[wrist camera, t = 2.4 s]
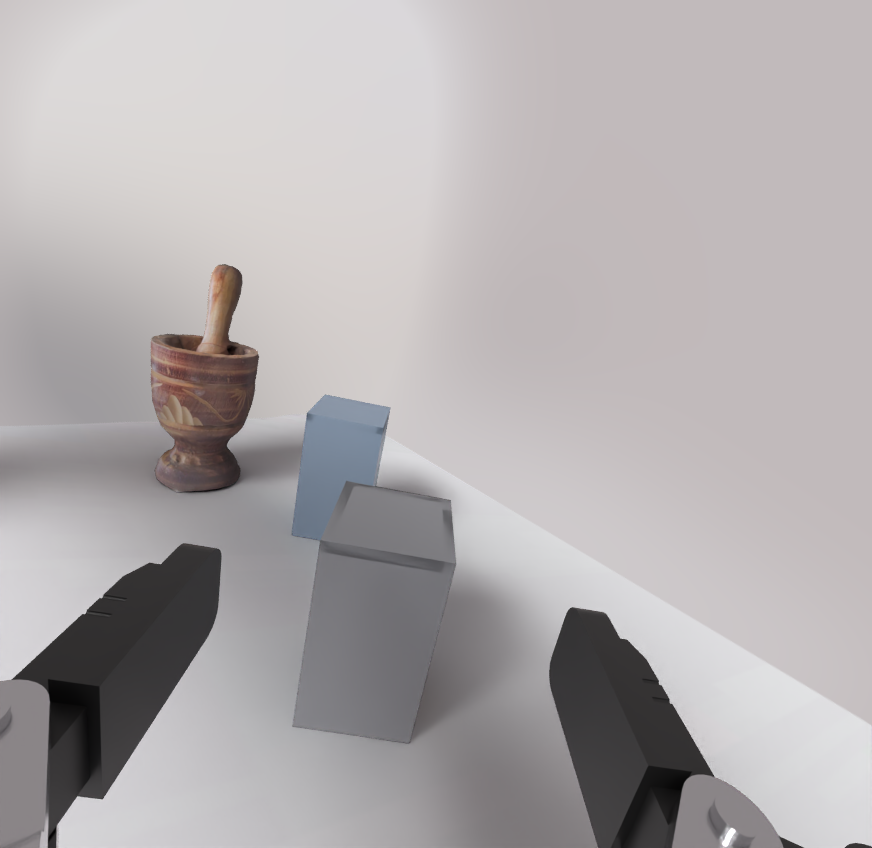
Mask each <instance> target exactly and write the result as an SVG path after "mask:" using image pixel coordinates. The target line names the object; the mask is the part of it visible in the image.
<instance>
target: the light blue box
mask: <svg viewBox="0 0 872 848" xmlns="http://www.w3.org/2000/svg"><path fill="white" fill-rule="evenodd" d="M389 413H390V407H385V406H380V405H375V404H370V403H365V402H360V401H355V400H350V399H345V398H340V397H335V396H330V395H324V396H323V397H322V398H321V399H320V400H319V401H318V402H317V403H316V405H314V407H313V408H312V409H311V410H310V411H309V412H308V413H307V418H306V426H305V434H304V442H303V449H302V457H301V465H300V473H299V481H298V489H297V497H296V505H295V512H294V520H293V528H292V535H294V536H299V537H305V538H311V539H316V540H321V538H322V535H323V533H324V531H325V528H326V526H327V524H328V522H329V519H330V517H331V515H332V512H333V510H334V508H335V506H336V503H337V501H338V499H339V496H340V494H341V492H342V489H343V487H344V485H345V483H346V481H350V482H355V483H360V484H366V485H371V486H376V483H377V478H378V472H379V467H380V461H381V456H382V451H383V445H384V440H385V434H386V429H387V423H388V418H389Z"/></svg>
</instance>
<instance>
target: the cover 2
mask: <svg viewBox="0 0 872 848" xmlns="http://www.w3.org/2000/svg"><path fill="white" fill-rule="evenodd" d="M455 566H456V558H455V546H454V534H453V523H452V511H451V500H447V499H441V498H436V497H430V496H425V495H420V494H414V493H409V492H403V491H398V490H393V489H387V488H382V487H377V486H371V485H366V484H360V483H355V482H350V481H346V483H345V485H344V487H343V489H342V492H341V494H340V496H339V499H338V501H337V503H336V506H335V508H334V510H333V512H332V515H331V517H330V519H329V522H328V524H327V526H326V528H325V531H324V533H323V535H322V538H321V540H320V547H319V553H318V560H317V567H316V573H315V580H314V587H313V593H312V600H311V607H310V613H309V620H308V627H307V633H306V640H305V647H304V654H303V660H302V667H301V674H300V680H299V687H298V694H297V700H296V707H295V714H294V720H293V727H300V728H307V729H314V730H321V731H328V732H335V733H342V734H348V735H355V736H362V737H369V738H376V739H383V740H390V741H397V742H404V743H410V739H411V735H412V731H413V727H414V723H415V720H416V716H417V712H418V708H419V704H420V700H421V697H422V693H423V689H424V685H425V681H426V677H427V673H428V670H429V666H430V662H431V658H432V654H433V650H434V646H435V643H436V639H437V635H438V631H439V627H440V623H441V619H442V616H443V612H444V608H445V604H446V600H447V596H448V593H449V589H450V585H451V581H452V577H453V573H454V569H455Z"/></svg>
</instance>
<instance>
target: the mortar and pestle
mask: <svg viewBox="0 0 872 848" xmlns="http://www.w3.org/2000/svg"><path fill="white" fill-rule="evenodd" d="M241 287H242V275H241V273H240V272H239V270H238V269H236V268H234V267H233V266H228V265H226V264H224V265H218V266H217V267H215V269H214V271H213V272H212V275H211V280H210V285H209V295H208V312H207V320H206V328H205V333H204V337H202V336H196V335H174V334H165V335H159V336H154V337H153V338H152V339H151V367H152V369H151V387H152V401H153V404H154V407H155V411H156V414H157V417H158V420H159V422H160V424H161V426H162V427H163V428H164V429H165V430H166V431H167V432H168V433H169V434H170V435H171V436H172V437H173V438H174V439H175V445H174V447H173V448H172V449H171V450H168V451H167V452H165V453H164V454H163V455H162V456H161V457H160V458H159V460H158V463H157V466H156V468H155V474H156V478H157V480H159V481H160V482H161V483H163V484H164V485H166V486H167V487H169V488H171V489H172V490H174V491H176V492H185V491H201V490H211V489H218V488H222V487H226V486H230V485H231V484H233V483H235V482H236V481H237V480H238V478H239V477H240V471H241V470H240V467H239V465H238V463H237V460H236V459H235V457H234V455H233V454H232V453H231V452H230V450H229V449H228V448H227V443H228V441H229V440H230V438H231V437H233V436H234V435H235V434H237V433H238V432H239V431H240V430H241V428H242V427H243V425H244V423H245V421H246V418H247V416H248V413H249V410H250V408H251V405H252V401H253V397H254V391H255V379H256V374H257V366H258V358H259V356H258V352H257V351H256V350H255V349H253V348H250V347H248V346H245V345H240V344H238V343H236V342H231V341H230V340H229V336H228V332H229V328H230V324H231V320H232V315H233V312H234V311H235V309H236V306H237V303H238V300H239V297H240V294H241Z"/></svg>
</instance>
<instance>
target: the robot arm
mask: <svg viewBox="0 0 872 848" xmlns="http://www.w3.org/2000/svg"><path fill="white" fill-rule="evenodd" d="M220 571H221V551H220V550H219V549H217V548H210V547H204V546H198V545H192V544H186V543H184V544H181V545H180V546H179V547H178V548H177V549H176V550H175V551H174V552H173V553H172V554H171V555H170V556H169V557H168V558H167V559H166V560H165V561H164V562H163V563H162V564H161V565H160V564H154V563H148V564H146V565H144V566H142V567H140V568H139V569H137V570H135V571H133V572H131V573H129V574H127V575H125V576H123V577H122V578H121V579H120V580H119V581H118V582H117V583H116V584H114V585H113V586H112V587H111V588H110V589H109V590H108V591H107V592H106V593H105V594H104V596H103V598H102V599H101V598H99V599H98V600H97V601H96V602H95V603H94V604H93V605H92V606H91V607H90V608H89V609H88V610H87V612H86V614H82V615H81V616H80V617H79V618H78V619H77V620H76V621H75V622H73V623H72V624H71V625H70V626H69V627H68V628H67V629H66V630H65V631H64V632H63V633H62V634H61V635H59V636H58V637H57V638H56V639H55V640H54V641H53V642H52V643H51V644H50V645H49V646H48V647H47V648H45V649H44V650H43V651H42V652H41V653H40V654H39V655H38V656H37V657H36V658H35V659H34V660H32V661H31V662H30V663H29V664H28V665H27V666H26V667H25V668H24V669H23V670H22V671H21V672H20V673H18V674H17V675H16V676H15V677H14V678H13V679H12V680H7V681H0V848H58V840H59V828H58V823H59V822H60V820H61V819H62V817H63V816H64V814H65V813H66V812H67V810H68V809H69V807H70V806H71V804H72V803H73V802H74V800H75V799H76V797H77V796H80V797H88V798H96V799H103V798H104V796H105V795H106V793H107V792H108V790H109V789H110V787H111V786H112V784H113V782H114V781H115V779H116V778H117V776H118V775H119V773H120V772H121V770H122V769H123V767H124V765H125V764H126V762H127V761H128V759H129V758H130V756H131V755H132V753H133V752H134V750H135V748H136V747H137V745H138V744H139V742H140V741H141V739H142V738H143V736H144V735H145V733H146V731H147V730H148V728H149V727H150V725H151V724H152V722H153V721H154V719H155V718H156V716H157V714H158V713H159V711H160V710H161V708H162V707H163V705H164V704H165V702H166V700H167V699H168V697H169V696H170V694H171V693H172V691H173V690H174V688H175V687H176V685H177V683H178V682H179V680H180V679H181V677H182V676H183V674H184V673H185V671H186V670H187V668H188V666H189V665H190V663H191V662H192V660H193V659H194V657H195V656H196V654H197V653H198V651H199V649H200V648H201V646H202V645H203V643H204V642H205V640H206V639H207V637H208V635H209V633H210V631H211V629H212V627H213V624H214V621H215V618H216V615H217V610H218V601H219V586H220ZM549 678H550V687H551V691H552V694H553V698H554V701H555V704H556V708H557V711H558V714H559V718H560V721H561V725H562V728H563V731H564V735H565V738H566V741H567V745H568V748H569V751H570V755H571V758H572V761H573V765H574V768H575V771H576V775H577V778H578V781H579V785H580V788H581V791H582V795H583V798H584V801H585V805H586V808H587V811H588V815H589V818H590V821H591V825H592V828H593V831H594V835H595V838H596V842H597V845H598V848H803V847H801V846H799V845H797V844H795V843H792V842H790V841H788V840H786V839H784V838H782V837H780V836H778V834H777V832H776V831H775V829H774V827H773V826H772V824H771V823H770V822H769V820H768V819H767V818H766V816H765V815H764V814H763V813H762V812H761V811H760V809H759V808H758V807H757V806H756V805H755V804H754V803H753V802H752V801H751V800H750V799H748V798H747V797H746V796H745V795H744V794H743V793H741V792H740V791H739V790H737V789H736V788H734V787H733V786H731V785H730V784H728V783H726V782H724V781H722V780H720V779H718V778H715V777H714V775H713V773H712V772H711V770H710V768H709V766H708V765H707V763H706V761H705V759H704V758H703V756H702V754H701V753H700V751H699V749H698V747H697V746H696V744H695V742H694V741H693V739H692V737H691V735H690V734H689V732H688V730H687V729H686V727H685V725H684V723H683V722H682V720H681V718H680V717H679V715H678V713H677V711H676V710H675V708H674V706H673V704H670V703H669V700H670V699H669V698H668V696H667V694H666V692H665V691H664V689H663V687H662V686H661V685H659V680H658V679H657V677H656V675H655V674H654V672H653V670H652V668H651V667H650V665H649V663H648V661H647V660H646V659H645V658H644V657H643V656H642V655H641V654H640V653H639V651H638V650H637V649H636V648H635V647H634V646H633V645H632V644H631V643H630V642H629V641H628V640H625V639H620V638H619V636H618V634H617V632H616V630H615V628H614V627H613V625H612V623H611V621H610V619H609V617H608V616H607V615H606V614H605V613H604V612H598V611H592V610H586V609H579V608H573V607H572V608H570V609H569V610H568V612H567V614H566V616H565V619H564V622H563V625H562V628H561V631H560V634H559V637H558V640H557V643H556V646H555V649H554V652H553V655H552V658H551V662H550V670H549ZM845 848H872V847H871V846H868V845H864V844H859V843H853V844H849V845H847V846H846V847H845Z"/></svg>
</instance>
